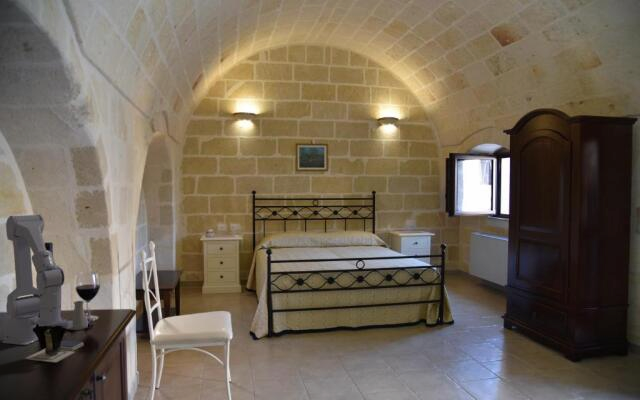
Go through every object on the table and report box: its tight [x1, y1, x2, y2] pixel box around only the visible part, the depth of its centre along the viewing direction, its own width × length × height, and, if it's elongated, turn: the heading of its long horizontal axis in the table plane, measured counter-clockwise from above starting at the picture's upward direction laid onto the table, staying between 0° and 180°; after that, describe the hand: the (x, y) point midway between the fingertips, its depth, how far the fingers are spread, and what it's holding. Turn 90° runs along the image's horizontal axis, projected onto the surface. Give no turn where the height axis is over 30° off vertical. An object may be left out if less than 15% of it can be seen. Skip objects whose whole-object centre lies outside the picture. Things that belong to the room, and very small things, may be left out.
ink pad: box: [60, 339, 84, 352], centre depth 147 cm, size 8×5×1 cm, turn 80°
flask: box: [68, 300, 90, 331], centre depth 166 cm, size 7×7×10 cm
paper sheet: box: [24, 348, 75, 363], centre depth 140 cm, size 11×8×1 cm
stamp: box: [44, 330, 61, 354], centre depth 140 cm, size 4×4×7 cm
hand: (50, 348), depth 140 cm, fingers closed on stamp, 4 cm apart
